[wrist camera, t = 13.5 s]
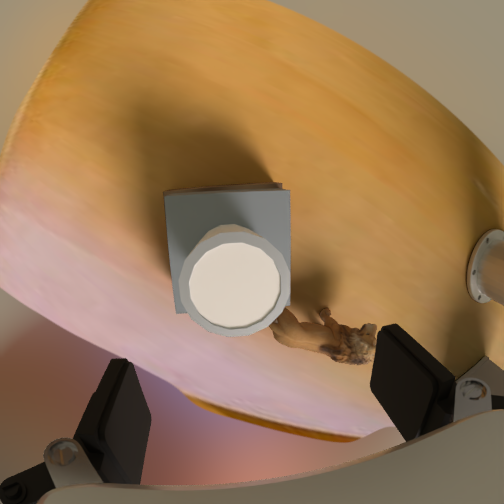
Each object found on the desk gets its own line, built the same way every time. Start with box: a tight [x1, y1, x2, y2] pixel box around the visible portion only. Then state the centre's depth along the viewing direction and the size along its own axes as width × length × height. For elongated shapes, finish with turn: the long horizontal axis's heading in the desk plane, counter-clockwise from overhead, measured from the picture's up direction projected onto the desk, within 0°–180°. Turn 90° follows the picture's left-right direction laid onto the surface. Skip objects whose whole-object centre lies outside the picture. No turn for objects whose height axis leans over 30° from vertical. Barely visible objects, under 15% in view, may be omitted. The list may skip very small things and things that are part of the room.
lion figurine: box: [269, 307, 377, 365], centre depth 32 cm, size 15×5×9 cm, turn 79°
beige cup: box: [178, 224, 290, 337], centre depth 21 cm, size 7×7×7 cm
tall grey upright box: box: [455, 356, 504, 396], centre depth 33 cm, size 14×6×25 cm, turn 116°
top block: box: [164, 188, 291, 314], centre depth 27 cm, size 10×10×4 cm
